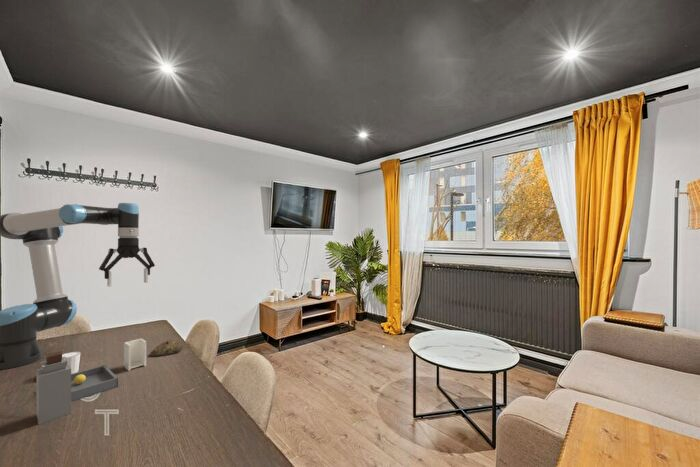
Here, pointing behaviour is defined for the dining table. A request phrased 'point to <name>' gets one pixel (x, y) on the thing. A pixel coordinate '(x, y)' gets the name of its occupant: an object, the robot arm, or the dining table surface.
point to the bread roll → (167, 348)
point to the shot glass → (73, 360)
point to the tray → (93, 382)
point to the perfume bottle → (53, 388)
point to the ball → (79, 379)
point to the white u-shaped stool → (134, 353)
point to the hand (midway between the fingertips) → (128, 284)
